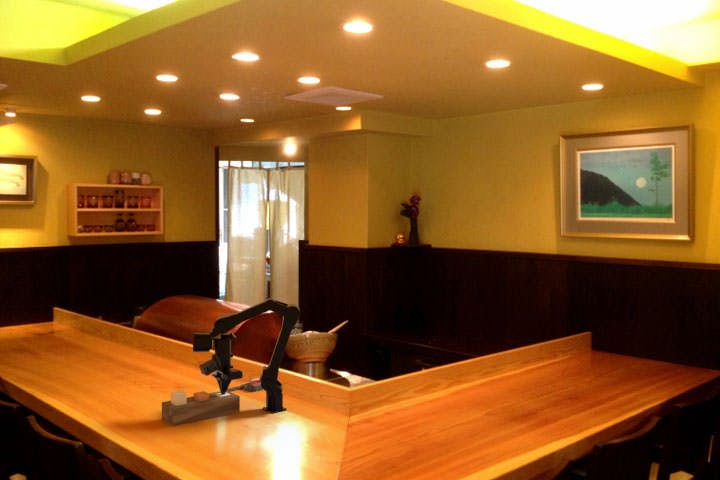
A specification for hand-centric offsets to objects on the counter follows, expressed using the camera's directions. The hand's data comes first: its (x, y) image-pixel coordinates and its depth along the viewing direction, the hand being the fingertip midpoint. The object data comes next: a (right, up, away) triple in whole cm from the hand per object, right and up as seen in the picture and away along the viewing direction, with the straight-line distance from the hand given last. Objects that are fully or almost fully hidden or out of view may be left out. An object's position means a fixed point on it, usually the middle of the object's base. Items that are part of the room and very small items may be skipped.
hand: (223, 394), depth 251 cm
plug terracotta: (-7, -4, -5) cm, 9 cm away
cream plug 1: (-13, -3, -11) cm, 17 cm away
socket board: (-7, -7, -5) cm, 11 cm away
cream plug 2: (0, -6, 0) cm, 6 cm away
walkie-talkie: (+6, -5, +31) cm, 32 cm away
